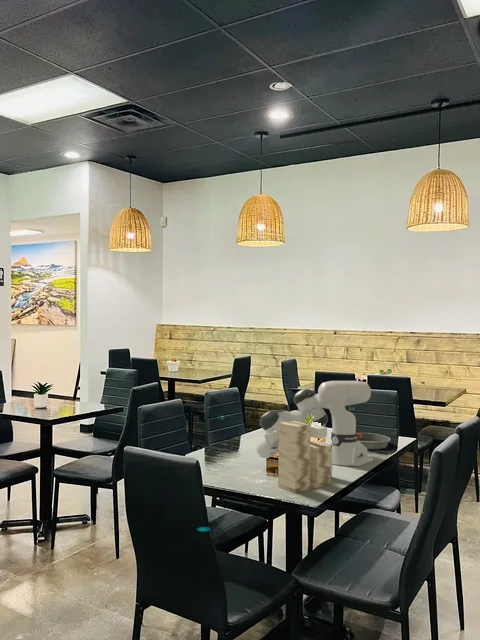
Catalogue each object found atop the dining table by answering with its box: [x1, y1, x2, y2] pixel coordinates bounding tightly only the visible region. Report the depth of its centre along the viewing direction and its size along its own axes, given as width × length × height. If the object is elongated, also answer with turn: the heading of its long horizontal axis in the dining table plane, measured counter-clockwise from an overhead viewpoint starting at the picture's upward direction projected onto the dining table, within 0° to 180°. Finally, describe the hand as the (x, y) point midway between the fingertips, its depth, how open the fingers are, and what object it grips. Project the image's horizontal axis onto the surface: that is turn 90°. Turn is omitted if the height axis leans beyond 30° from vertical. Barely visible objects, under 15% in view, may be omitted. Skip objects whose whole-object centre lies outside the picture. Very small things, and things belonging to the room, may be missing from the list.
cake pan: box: [356, 432, 392, 450], centre depth 310 cm, size 25×25×4 cm
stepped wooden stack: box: [277, 421, 332, 494], centre depth 231 cm, size 20×10×26 cm, turn 127°
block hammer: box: [310, 425, 328, 439], centre depth 239 cm, size 5×20×4 cm, turn 37°
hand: (299, 428), depth 242 cm, fingers closed on block hammer, 2 cm apart
